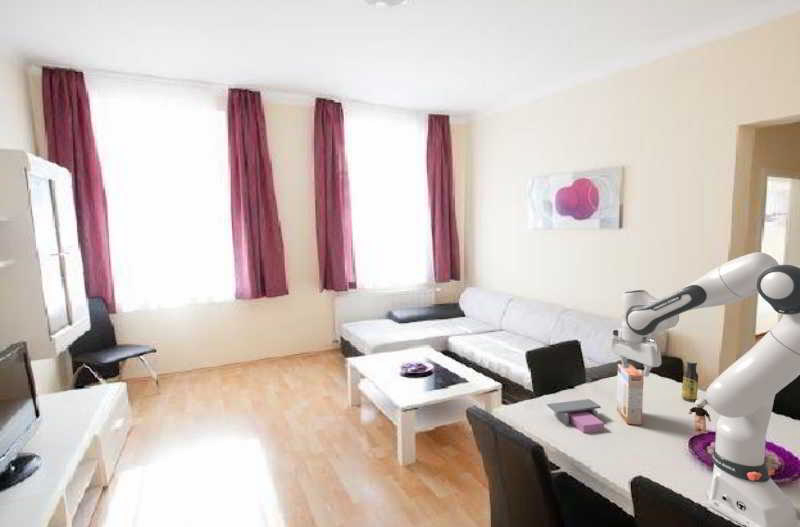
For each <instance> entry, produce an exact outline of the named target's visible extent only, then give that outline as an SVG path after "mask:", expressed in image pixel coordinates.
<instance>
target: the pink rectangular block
mask: <svg viewBox="0 0 800 527" xmlns="http://www.w3.org/2000/svg"><path fill="white" fill-rule="evenodd" d="M566 413H567V414H569V424H571V425H572V424H573V426H574V427H575V428H576V429H577V430H579V431H580V432H581V433H583V434H587V433H594V432H603V431H604V430H605V423H604V422H603V421H602V420H601V419H599V418H598V417H597V418H596V417H595V416H593V415H592V414H590V413H589V412H588V411H586V410H581V411H573V412H566Z"/></svg>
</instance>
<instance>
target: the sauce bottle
mask: <svg viewBox="0 0 800 527" xmlns="http://www.w3.org/2000/svg"><path fill="white" fill-rule="evenodd" d="M697 365H698V362H697V361H695V360H687V362H686V370H685V371H684V374H683V377H682V389H681V390H682V391H681V398H682V399H683V400H684V401H687V402H692V403H693V402H695V401H696V400H697V399H698V390H699V388H698V387H699V375H698V373H697Z"/></svg>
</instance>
